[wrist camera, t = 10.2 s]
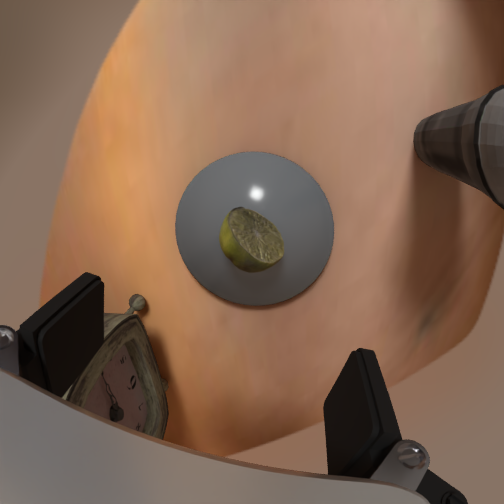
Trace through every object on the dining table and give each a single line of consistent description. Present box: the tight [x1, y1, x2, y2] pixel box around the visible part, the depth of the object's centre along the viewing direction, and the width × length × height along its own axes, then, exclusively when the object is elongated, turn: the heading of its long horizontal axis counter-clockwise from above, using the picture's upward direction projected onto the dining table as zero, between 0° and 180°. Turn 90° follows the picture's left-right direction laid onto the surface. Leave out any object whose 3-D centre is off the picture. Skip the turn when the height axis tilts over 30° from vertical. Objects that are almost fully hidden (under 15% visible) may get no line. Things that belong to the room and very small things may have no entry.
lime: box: [219, 207, 284, 273], centre depth 23 cm, size 4×5×5 cm
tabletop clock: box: [62, 294, 169, 440], centre depth 20 cm, size 14×9×25 cm, turn 5°
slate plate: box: [175, 152, 334, 306], centre depth 26 cm, size 13×13×1 cm
